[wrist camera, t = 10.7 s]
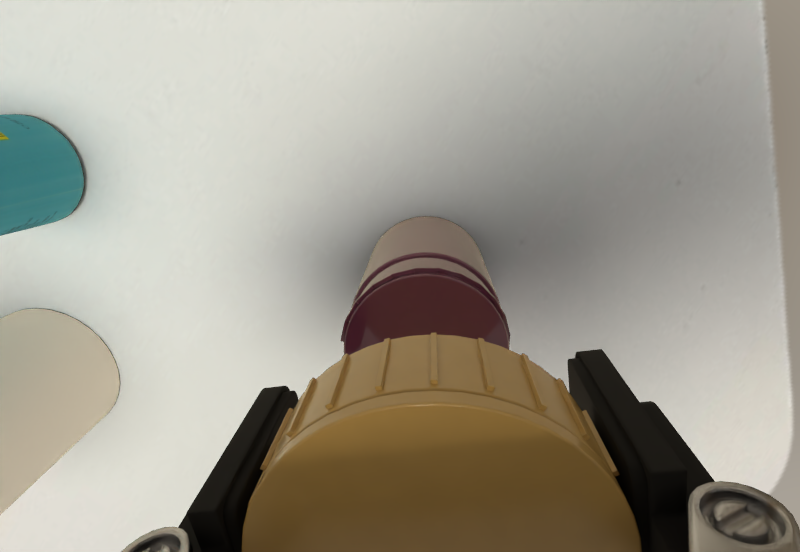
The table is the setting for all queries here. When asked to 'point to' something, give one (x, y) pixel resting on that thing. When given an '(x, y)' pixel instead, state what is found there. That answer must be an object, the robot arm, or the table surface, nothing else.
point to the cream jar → (425, 288)
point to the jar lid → (438, 459)
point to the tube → (36, 174)
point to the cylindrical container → (48, 393)
